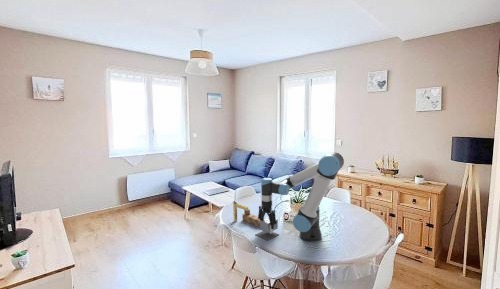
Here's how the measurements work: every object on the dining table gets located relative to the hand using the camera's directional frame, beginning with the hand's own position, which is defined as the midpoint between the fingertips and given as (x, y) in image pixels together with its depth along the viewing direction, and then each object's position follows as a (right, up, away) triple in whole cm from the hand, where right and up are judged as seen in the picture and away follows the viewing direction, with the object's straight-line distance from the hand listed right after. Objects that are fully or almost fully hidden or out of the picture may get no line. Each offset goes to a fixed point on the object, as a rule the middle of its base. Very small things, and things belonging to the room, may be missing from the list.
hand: (266, 230), depth 189 cm
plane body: (-9, -1, +22) cm, 24 cm away
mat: (0, -3, 0) cm, 3 cm away
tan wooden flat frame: (-19, -1, +20) cm, 28 cm away
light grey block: (+1, +1, +1) cm, 2 cm away
